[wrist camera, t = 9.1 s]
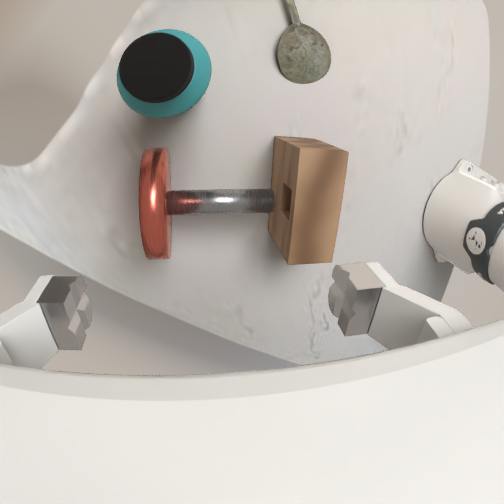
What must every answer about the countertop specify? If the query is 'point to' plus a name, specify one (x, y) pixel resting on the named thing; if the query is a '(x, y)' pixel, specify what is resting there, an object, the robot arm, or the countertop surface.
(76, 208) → the countertop surface
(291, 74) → the soupspoon
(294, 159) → the eye block
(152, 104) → the beverage bottle
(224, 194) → the copper wheel on rod
